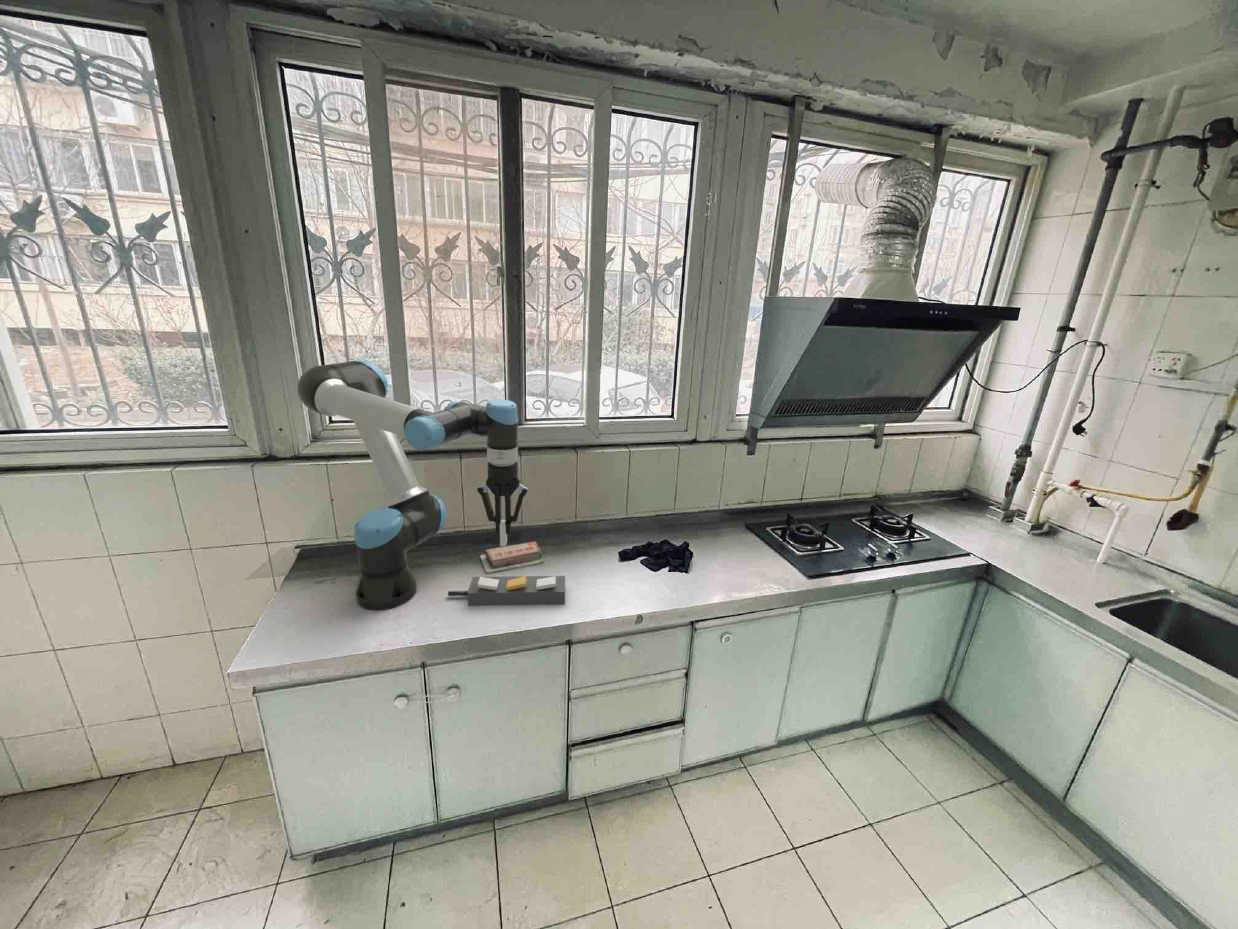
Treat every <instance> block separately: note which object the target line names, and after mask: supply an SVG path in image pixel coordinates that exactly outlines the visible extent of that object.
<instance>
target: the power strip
mask: <svg viewBox="0 0 1238 929" xmlns="http://www.w3.org/2000/svg"><path fill="white" fill-rule="evenodd" d="M524 576H526V575H523V576H522V575H513V576H512V575H511V576H483V577H484V578H491V579H497V580H499V583H498V587H497V590H491V589H485V588H478V587H477V586H478V582H479V579H480V577H481V576H472V579H471V581H470V584H469V588H468V590H463V591H461V590H459V591H458V590H455V591H454V590H452V591H451V590H450V591H448V592H447V595H448V596H449V597H453V596H454V597H456V596H457V597H459V596H461V597H465V596H466V597H467V606H469V607H472V606H532V605H533V606H538V605H544V606H546V605H565V604H566V575H529V576H528V575H527V576H526V577H527V582H526V586H525V587H521V588H517V589H513V590H508V591H507V589H506V586H507V582H508V580H511V579H515V578H520V577H524ZM554 576H556V587H550V588H545V589H539V590H537V588H536V584H537V579H542V578H548V577H554Z"/></svg>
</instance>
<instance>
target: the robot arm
mask: <svg viewBox="0 0 1238 929" xmlns="http://www.w3.org/2000/svg"><path fill="white" fill-rule="evenodd" d="M388 388H389V382H388V379H387V377H386V375H385V373H384V372H383V370H381V368H380V367H379V366H377V365H376V364H375V363H372V362H370V361H366V360H350V361H345V362H339V363H338V362H337V363H331V364H330V363H329V364H320V365H315V366H313V367H310V368H308V369H307V370H306V371H305V372H303V373H302V375H300V378H299V379H298V382H297V390H296V391H297V396H298V398H299V400H300V402H301V403H302V404H303V405H304V406H306V408H308V410H310V411H313V412H315V413H316V414H320V415H324V416H326V417H335V416H339V417H342V418H345V419H349V420H352V422H353V423H354V426H355V427H356V430H357V432H358V434H359V435H360V438H361V440H362V442H363V444H364V446H365V449H366V450H367V453H368V454H369V456H370V459H371V462H372V463H373V465H374V468H375V469H376V471H377V474H378V476H379V478H380V480H381V482H382V484H383V487H384V488H385V491H386V492H387V494H388V496H389V499H388V503H387V508H380V509H379V510H377V509H376V510H373V511H369V512H367V513H365V514H364V515H362V516H361V517H360V518H359V519H358V520H357V521H356V523H355V525H354V543H355V546H356V552H357V559H358V565H359V573H360V574H359V579H358V582H357V585H356V591H355V597H356V603H357V604H358V606H360V607H361V608H364V609H367V610H372V611H383V610H389V609H393V608H396V607H399V606H401V605H404V604H406V602H408V601H411V599H412V598H413V597H414V596H415V594H416V593H417V589H418V588H417V586H418V585H417V581H416V578H415V576H414V575H413V573H412V571H411V569H410V566H409V565H408V558H407V552H408V551H410V550H412V549H413V548H415V547H416V546H417V545H419V544H422V543H423V542H425V541H427V540H428V539H430V538H433V537H435V536H436V535H437V534H438V533H439V532H441V531H442V530H443V528H444V527H445V526H446V523H447V520H448V513H447V507H446V506H445V504H444V503H445V502H443V500H442V499H441V498H438V495H435V494H431V493H430V492H429V489H428V488H426V487H423V486H421V485H420V483H419V481H418V479H417V477H416V475H415V473H414V469H412V466H411V464H410V462H409V459H408V457H407V455H406V454H405V451H404V449H403V447H402V444H401V443H400V440H399V438H398V436H400V437H403V438H405V440H406V442H407V443H408V445H410V446H412V448H413V449H414V450H417V451H426V450H429V449H435V448H437V447H439V446H441V445H444V444H446V443H449V442H452V441H455V440H457V439H460V438H464V437H466V436H468V435H474V436H479V437H485V438H486V457H487V458H486V459H487V466H486V467H487V479H486V480H485V483H483V484H479V485H478V487H477V490H476V491H477V492H478V494H479V495H480V496H481V499H482V503H483V506H484V510H485V513H486V516H487V519H488V520H487V521H488V522H494V523H495V533H496V534H497V535H499V547H505V546H507V544H508V535H510V534H511V532H512V523H517V521H518V518H519V514H520V510H521V507H522V504H523V500H524V497H525V496H526V494H527V493H528V489H529V487H528V486H527V485H523V484H521V482H520V480H519V476H518V475H519V472H518V470H519V469H518V468H519V465H518V464H519V463H518V462H517V461H518V460H519V459H518V458H519V445H518V428H519V426H518V424H519V417H518V415H519V414H518V406H517V404H516V402H514V401H512V400H508V399H492V400H489V401H487V403H486V405H485V406H483V405H479V404H474V403H468V402H465V401H450V402H449V403H448V404H447V405H446V406H445V407H444V409H442V410H439V411H435V412H432V411H429V410H425V409H422V408H418V407H415V406H412V405H409V404H406V403H402V402H399V401H396V400H393V399H389V398H386V396H387V395H388V392H389V389H388ZM517 489H518V490H517ZM489 490H490V491H491V493H492V494H493V495H494V506H495V507H494V509H493V506H492V502H491V498H490V495H489ZM516 490H517V493H518V497H517V501H516V505H515V509H514V512H513V515H512V495H513V494H514V493H515V491H516ZM502 497H504V506H505V507H504V513H505V514H504V516H505V519H502Z"/></svg>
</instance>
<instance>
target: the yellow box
mask: <svg viewBox="0 0 1238 929" xmlns="http://www.w3.org/2000/svg"><path fill="white" fill-rule="evenodd" d="M523 576H524V577H520V578H515V579H511V580H508V582H507V586H506V589H507V591H508V590H513V589H517V588H521V587H525V586H526V582H527V577H526V575H523Z"/></svg>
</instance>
